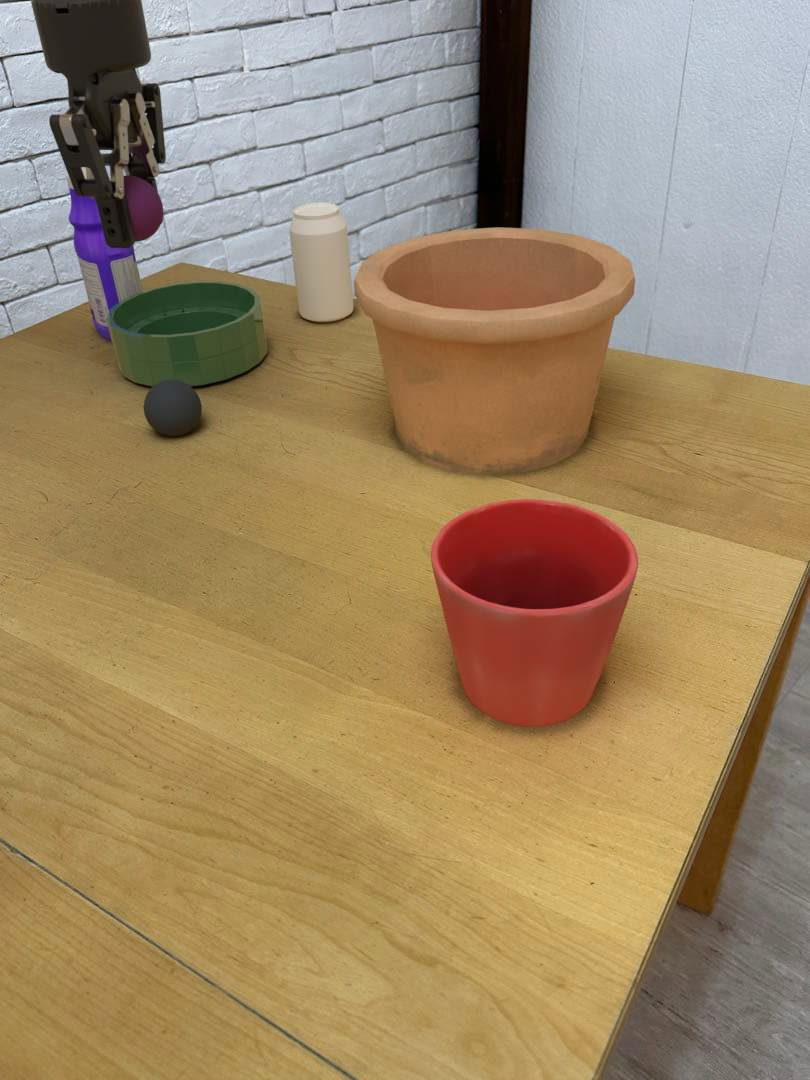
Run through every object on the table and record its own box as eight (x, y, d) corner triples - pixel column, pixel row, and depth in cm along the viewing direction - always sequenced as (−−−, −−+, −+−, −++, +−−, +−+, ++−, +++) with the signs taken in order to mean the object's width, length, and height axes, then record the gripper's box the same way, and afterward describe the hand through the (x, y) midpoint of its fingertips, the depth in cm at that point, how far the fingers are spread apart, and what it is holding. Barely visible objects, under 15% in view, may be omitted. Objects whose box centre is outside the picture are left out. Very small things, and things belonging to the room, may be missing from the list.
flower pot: (483, 604, 60) (484, 478, 54) (645, 656, 55) (664, 524, 50) (402, 707, 53) (393, 574, 47) (581, 777, 48) (594, 639, 42)
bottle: (160, 336, 100) (125, 172, 90) (111, 350, 98) (69, 182, 88) (137, 318, 106) (101, 160, 95) (89, 330, 103) (47, 170, 93)
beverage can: (314, 332, 100) (301, 221, 93) (291, 315, 104) (277, 207, 97) (364, 319, 102) (355, 210, 95) (339, 303, 106) (329, 197, 99)
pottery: (509, 356, 92) (512, 211, 83) (673, 440, 76) (696, 272, 68) (323, 419, 83) (305, 263, 74) (466, 528, 67) (464, 346, 59)
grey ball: (141, 445, 80) (128, 394, 77) (162, 419, 84) (151, 369, 81) (194, 448, 79) (183, 396, 76) (213, 421, 83) (204, 371, 80)
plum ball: (95, 249, 72) (79, 184, 69) (122, 230, 76) (109, 168, 73) (153, 250, 71) (140, 184, 69) (178, 231, 75) (166, 168, 73)
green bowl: (95, 392, 90) (80, 335, 86) (155, 332, 102) (143, 280, 98) (242, 397, 87) (232, 338, 84) (285, 335, 99) (278, 281, 96)
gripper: (84, -15, 70) (131, 210, 80) (-20, 4, 59) (50, 264, 69) (174, -18, 69) (211, 211, 79) (86, 1, 58) (142, 266, 67)
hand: (136, 234), depth 74 cm, fingers closed on plum ball, 5 cm apart
